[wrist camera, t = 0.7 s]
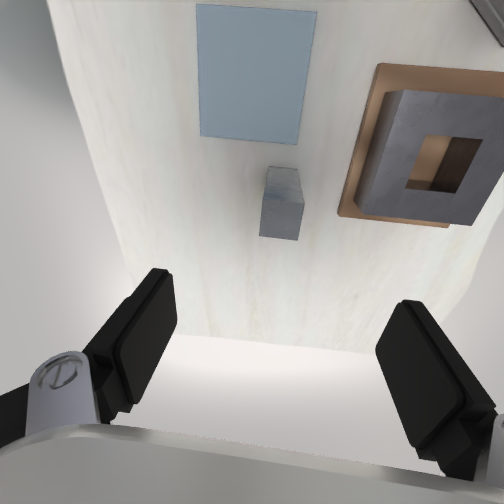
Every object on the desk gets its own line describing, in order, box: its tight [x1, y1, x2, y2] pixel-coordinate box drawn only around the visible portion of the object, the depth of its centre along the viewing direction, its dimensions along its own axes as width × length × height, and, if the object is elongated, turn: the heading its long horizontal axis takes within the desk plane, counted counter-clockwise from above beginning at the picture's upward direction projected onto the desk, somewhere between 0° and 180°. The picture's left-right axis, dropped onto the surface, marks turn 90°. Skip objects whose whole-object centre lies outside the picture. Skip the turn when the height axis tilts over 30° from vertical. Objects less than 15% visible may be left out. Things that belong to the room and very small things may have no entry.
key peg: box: [259, 166, 305, 240], centre depth 23 cm, size 3×3×11 cm
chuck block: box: [353, 90, 504, 226], centre depth 22 cm, size 10×10×4 cm
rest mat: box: [196, 4, 317, 145], centre depth 23 cm, size 10×10×1 cm
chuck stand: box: [338, 63, 504, 228], centre depth 25 cm, size 14×12×1 cm
